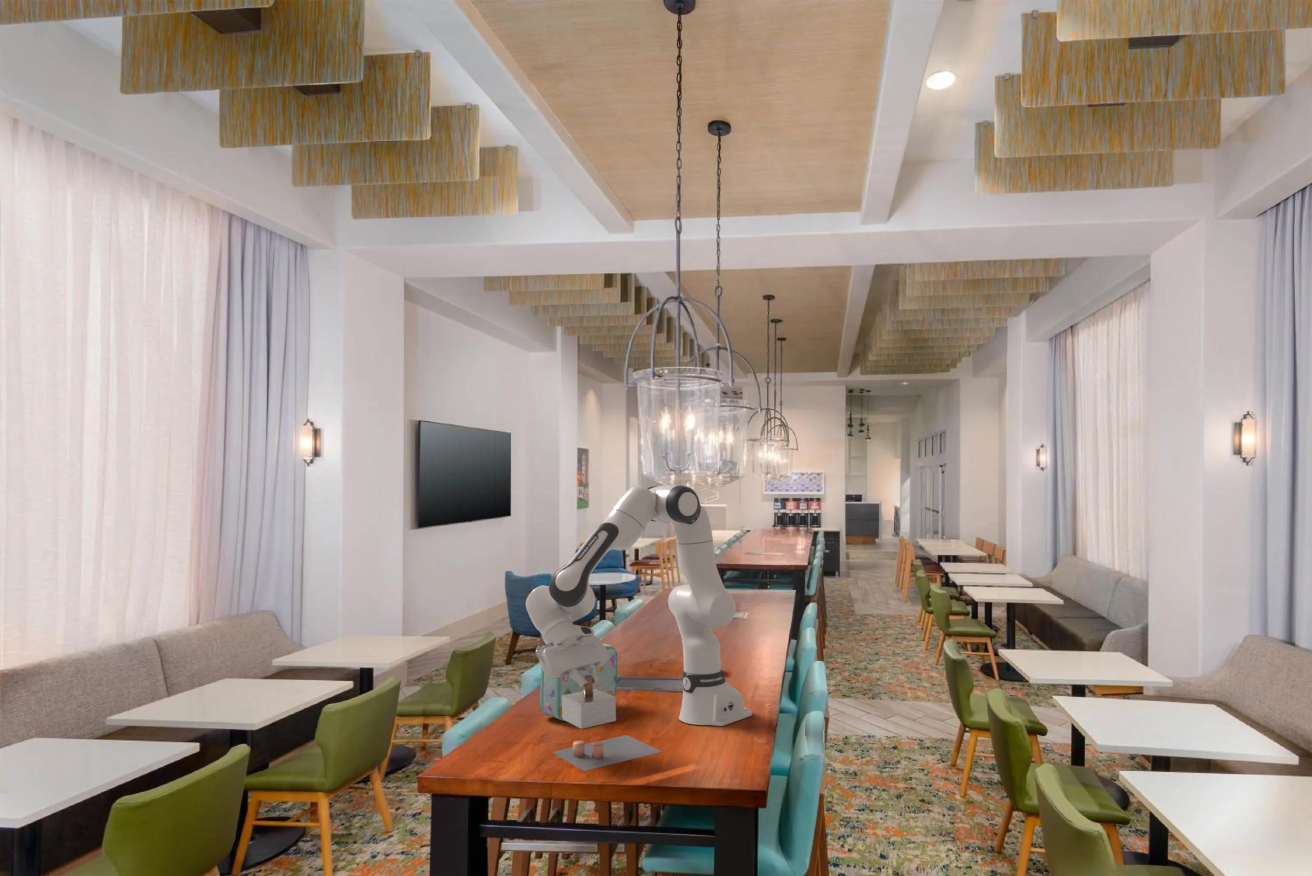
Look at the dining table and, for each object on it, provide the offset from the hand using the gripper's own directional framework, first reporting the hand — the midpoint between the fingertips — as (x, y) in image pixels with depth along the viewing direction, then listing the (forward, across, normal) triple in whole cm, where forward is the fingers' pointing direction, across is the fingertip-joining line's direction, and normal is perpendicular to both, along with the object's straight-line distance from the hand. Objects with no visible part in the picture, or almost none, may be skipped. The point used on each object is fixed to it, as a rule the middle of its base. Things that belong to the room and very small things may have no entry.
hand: (589, 683), depth 205 cm
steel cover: (+6, 0, +7) cm, 9 cm away
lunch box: (-10, +28, +38) cm, 48 cm away
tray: (+14, +5, +13) cm, 20 cm away
